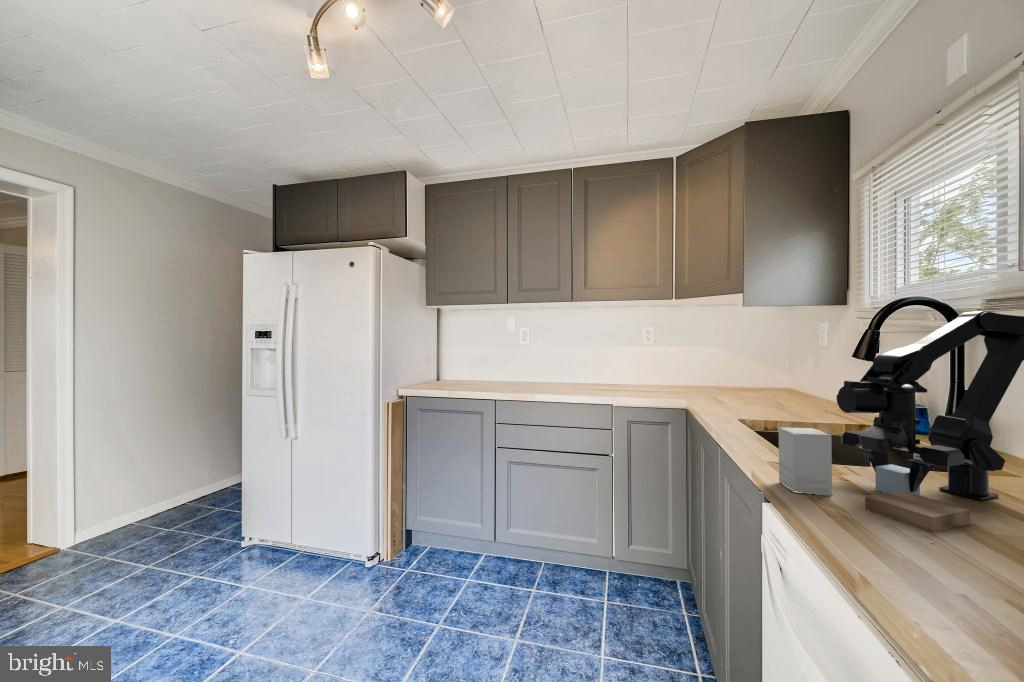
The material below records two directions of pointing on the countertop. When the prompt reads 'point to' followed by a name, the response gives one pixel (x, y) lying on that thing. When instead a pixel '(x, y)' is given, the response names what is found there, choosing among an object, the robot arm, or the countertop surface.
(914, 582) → the countertop surface
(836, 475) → the countertop surface
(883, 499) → the walnut slab
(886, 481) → the slate block
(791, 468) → the supplement box
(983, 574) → the countertop surface
